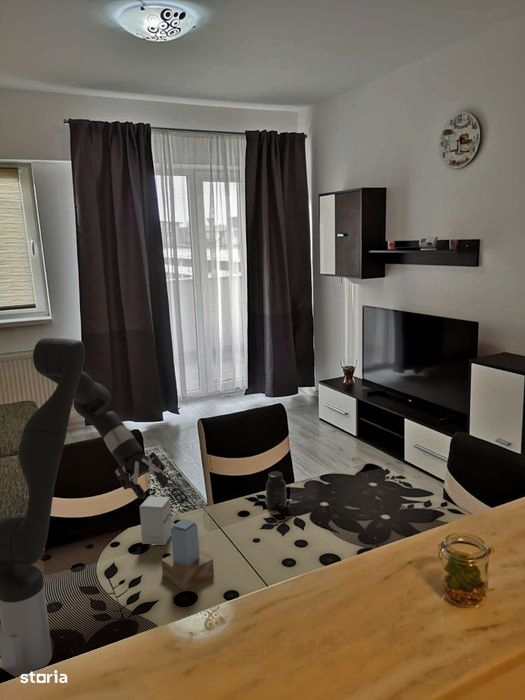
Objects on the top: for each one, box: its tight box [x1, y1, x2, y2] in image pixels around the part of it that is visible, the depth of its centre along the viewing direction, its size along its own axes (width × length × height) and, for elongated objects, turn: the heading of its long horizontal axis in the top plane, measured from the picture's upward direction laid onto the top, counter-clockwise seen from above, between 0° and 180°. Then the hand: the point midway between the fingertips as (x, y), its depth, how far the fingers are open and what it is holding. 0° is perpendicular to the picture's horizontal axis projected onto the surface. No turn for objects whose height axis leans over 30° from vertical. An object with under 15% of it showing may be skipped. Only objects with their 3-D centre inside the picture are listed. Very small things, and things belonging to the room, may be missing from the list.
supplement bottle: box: [265, 470, 288, 512], centre depth 192 cm, size 7×7×12 cm
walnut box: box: [161, 550, 215, 591], centre depth 154 cm, size 10×10×5 cm
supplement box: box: [139, 495, 173, 545], centre depth 172 cm, size 7×7×13 cm
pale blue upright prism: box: [170, 518, 200, 567], centre depth 152 cm, size 5×5×11 cm
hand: (155, 491), depth 156 cm, fingers open, 8 cm apart
